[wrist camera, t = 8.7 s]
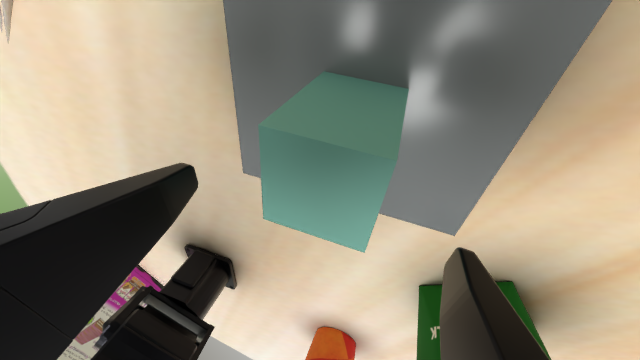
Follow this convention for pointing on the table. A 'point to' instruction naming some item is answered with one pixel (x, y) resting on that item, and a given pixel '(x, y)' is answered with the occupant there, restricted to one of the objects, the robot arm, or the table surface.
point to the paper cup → (331, 345)
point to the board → (414, 80)
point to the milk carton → (431, 319)
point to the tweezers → (6, 16)
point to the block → (331, 157)
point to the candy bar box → (107, 315)
